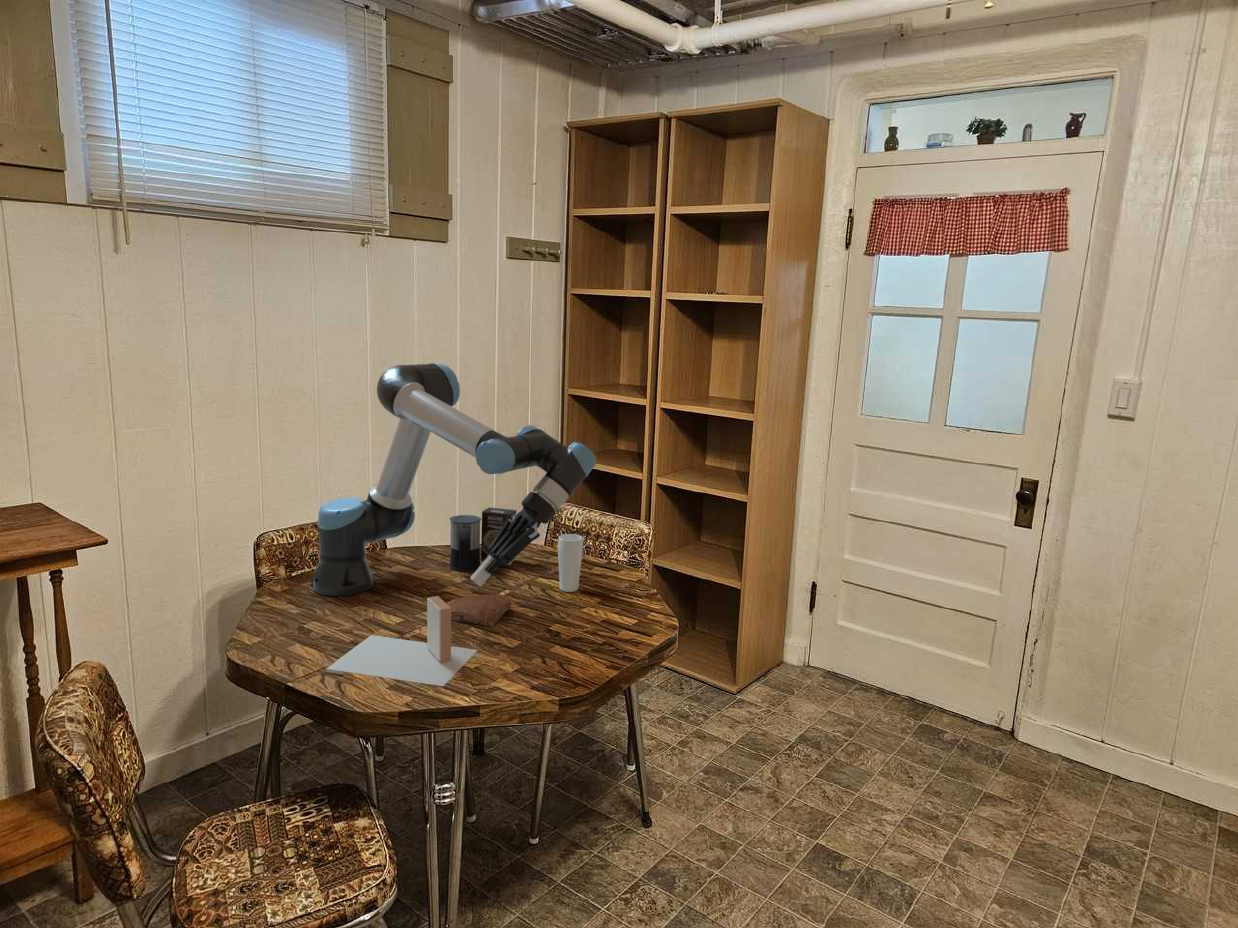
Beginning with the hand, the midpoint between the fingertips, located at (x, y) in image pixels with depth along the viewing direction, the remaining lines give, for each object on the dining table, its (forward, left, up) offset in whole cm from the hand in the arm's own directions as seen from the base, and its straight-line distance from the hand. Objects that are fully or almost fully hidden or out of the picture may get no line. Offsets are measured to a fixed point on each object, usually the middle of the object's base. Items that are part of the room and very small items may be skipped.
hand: (475, 582), depth 172 cm
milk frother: (-21, +55, -17) cm, 61 cm away
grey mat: (-12, -9, -16) cm, 22 cm away
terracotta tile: (-6, -5, -16) cm, 18 cm away
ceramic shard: (-8, +20, -17) cm, 27 cm away
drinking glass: (+9, +46, -17) cm, 49 cm away
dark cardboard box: (-18, +62, -17) cm, 67 cm away
